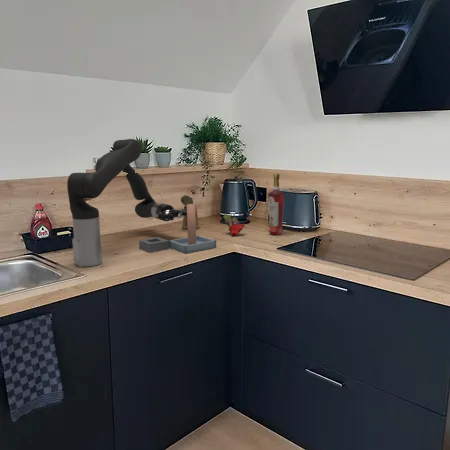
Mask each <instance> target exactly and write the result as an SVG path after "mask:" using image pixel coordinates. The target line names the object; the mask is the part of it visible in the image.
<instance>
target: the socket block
mask: <svg viewBox="0 0 450 450" xmlns="http://www.w3.org/2000/svg"><path fill="white" fill-rule="evenodd" d="M169 241H170V240H167V239H166V238H162V237H159V236H157V237H156V236H155V237H151V238H145V239H139V240H138V247H139V250H142V251H145V252H147V253H155V252H160V251H167V250H170V248H169Z"/></svg>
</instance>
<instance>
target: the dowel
mask: <svg viewBox="0 0 450 450" xmlns="http://www.w3.org/2000/svg"><path fill="white" fill-rule="evenodd" d="M195 206H196V204H194V203H193V204H188V205H187V227H188V230H187V237H188V245H192V244H196V236H197V229H196V217H195Z"/></svg>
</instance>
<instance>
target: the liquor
mask: <svg viewBox="0 0 450 450" xmlns="http://www.w3.org/2000/svg"><path fill="white" fill-rule="evenodd" d="M272 178H273V187H272V191H270V192H269V193H268V195H267V196H268V215H269V216H268V217H269V230H268V232H269V233H270V235H273V236H280V235H282V234H283V233H284V230H283V229H284V228H283V226H284V224H283V223H284V208H285V193H284V192H283V191H281V190H280V173H273V177H272Z"/></svg>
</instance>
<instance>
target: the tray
mask: <svg viewBox="0 0 450 450" xmlns="http://www.w3.org/2000/svg"><path fill="white" fill-rule="evenodd" d="M168 241H169V249H171V250H174V251H177V252H180V253H183V254H185V255H186V254H190V253H191V254H192V253H196V252H202V251H206V250H207V251H208V250H212V249H216V248H217V240H215V239H212V238H208V237H206V236H202V235H196V244H192V245H188V236H187V237H183V238H177V239H170V240H168Z"/></svg>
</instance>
